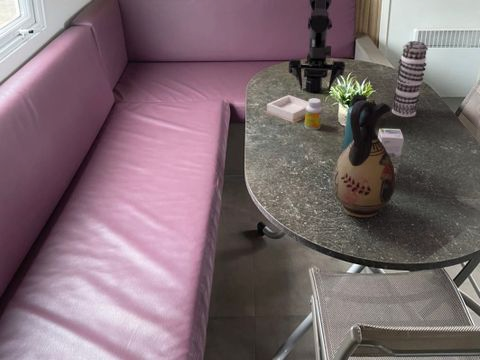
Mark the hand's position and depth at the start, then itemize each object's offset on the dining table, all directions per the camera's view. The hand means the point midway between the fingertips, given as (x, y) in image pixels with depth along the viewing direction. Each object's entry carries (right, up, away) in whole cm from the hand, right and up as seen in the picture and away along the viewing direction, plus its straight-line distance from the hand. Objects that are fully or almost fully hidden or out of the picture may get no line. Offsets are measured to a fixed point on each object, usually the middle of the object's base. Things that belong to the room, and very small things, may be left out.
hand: (315, 90), depth 170 cm
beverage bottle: (+9, -24, -17) cm, 30 cm away
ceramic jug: (+5, -38, -40) cm, 55 cm away
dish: (-7, -6, +12) cm, 15 cm away
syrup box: (+15, -30, -27) cm, 43 cm away
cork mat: (-7, -6, +12) cm, 15 cm away
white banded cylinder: (+34, -6, +13) cm, 37 cm away
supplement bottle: (-1, -12, +2) cm, 13 cm away
